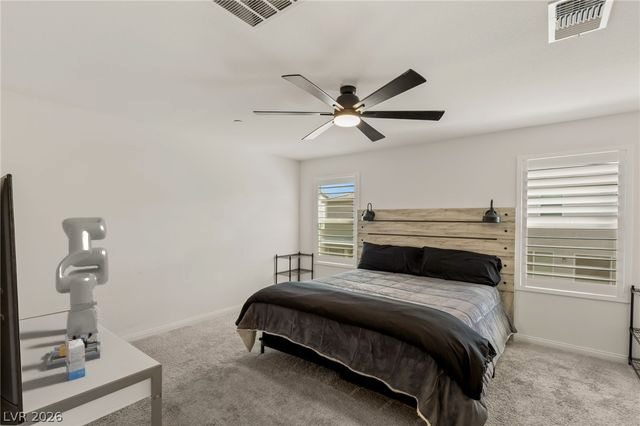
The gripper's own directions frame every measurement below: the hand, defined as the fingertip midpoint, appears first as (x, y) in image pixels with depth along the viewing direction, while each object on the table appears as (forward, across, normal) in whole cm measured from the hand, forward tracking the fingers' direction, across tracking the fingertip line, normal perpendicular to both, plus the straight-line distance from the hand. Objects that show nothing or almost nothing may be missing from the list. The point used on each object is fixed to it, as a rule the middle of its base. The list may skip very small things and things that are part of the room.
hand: (82, 350), depth 133 cm
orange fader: (+1, +6, 0) cm, 6 cm away
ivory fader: (+1, -3, -10) cm, 11 cm away
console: (+3, +3, -5) cm, 6 cm away
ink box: (+3, +2, +16) cm, 16 cm away
